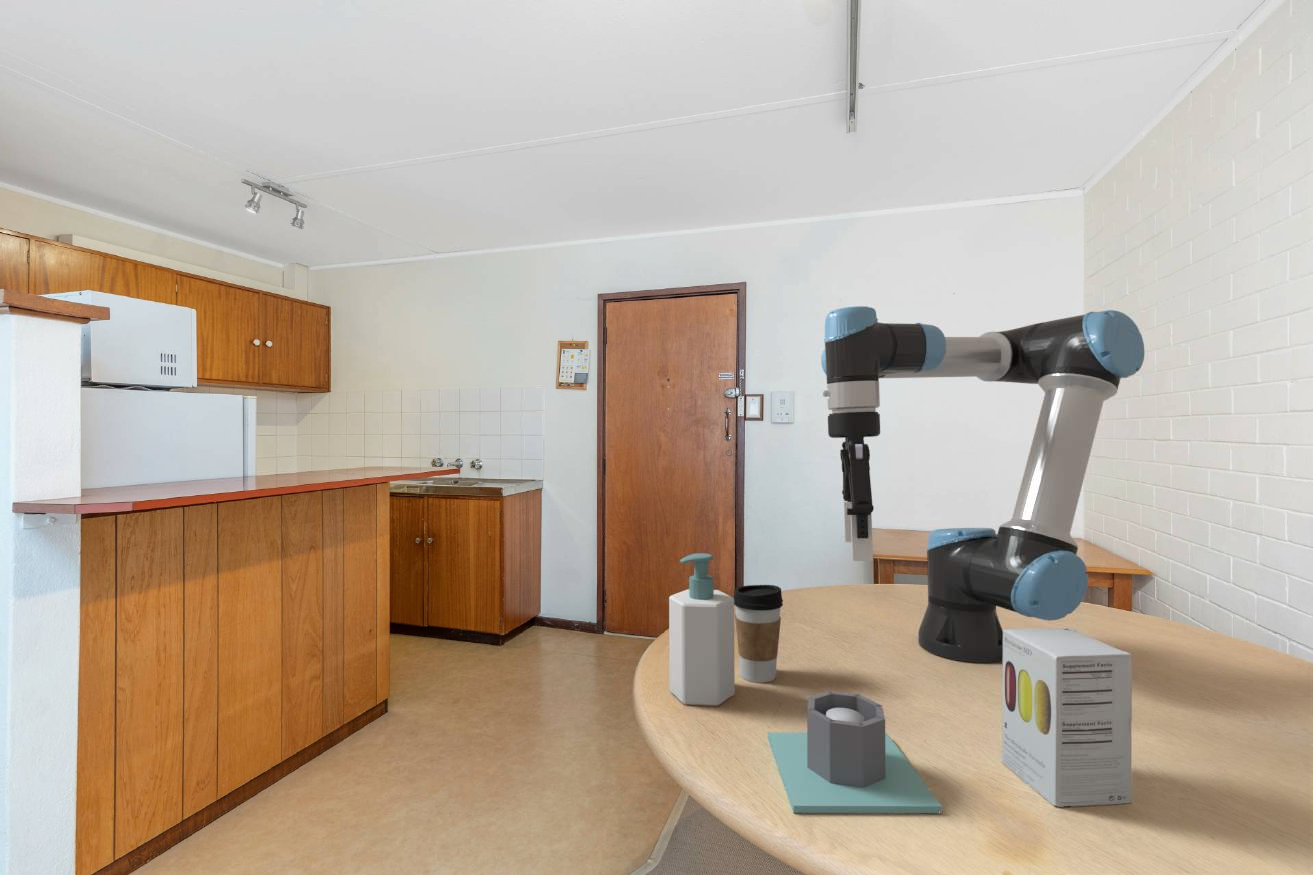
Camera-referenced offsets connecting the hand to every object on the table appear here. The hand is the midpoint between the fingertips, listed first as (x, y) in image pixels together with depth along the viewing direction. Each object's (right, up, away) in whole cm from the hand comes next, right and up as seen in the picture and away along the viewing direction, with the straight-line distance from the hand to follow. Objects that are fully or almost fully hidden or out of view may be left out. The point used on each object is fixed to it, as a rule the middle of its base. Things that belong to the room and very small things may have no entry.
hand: (857, 550), depth 91 cm
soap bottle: (-23, -24, +4) cm, 34 cm away
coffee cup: (-13, -24, +11) cm, 29 cm away
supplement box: (+17, -24, -20) cm, 36 cm away
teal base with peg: (-8, -23, -18) cm, 31 cm away
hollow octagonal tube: (-8, -23, -18) cm, 30 cm away
